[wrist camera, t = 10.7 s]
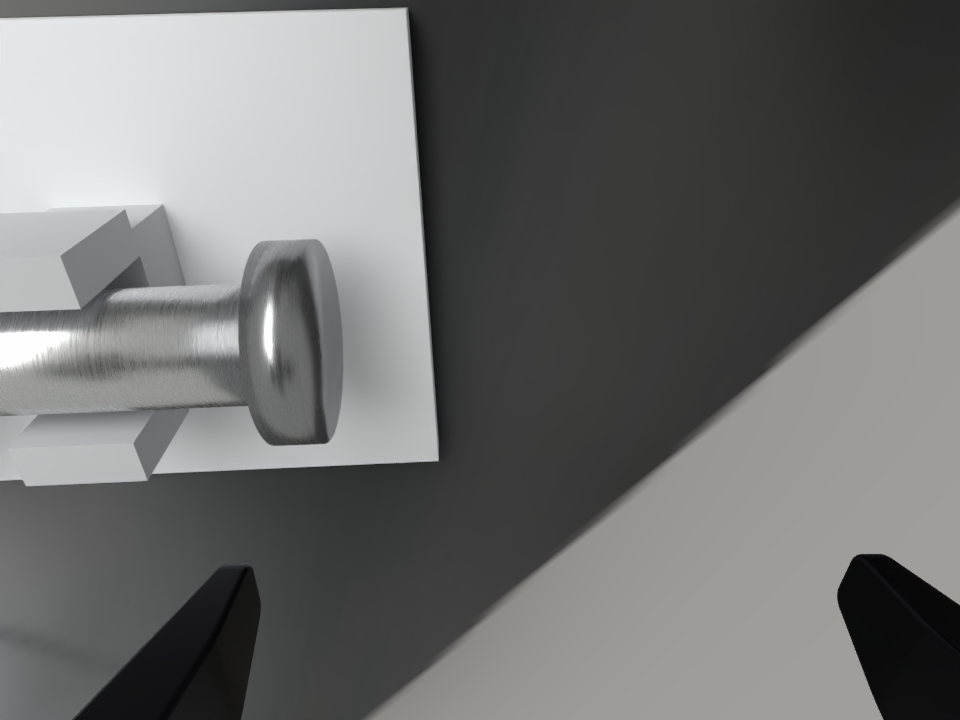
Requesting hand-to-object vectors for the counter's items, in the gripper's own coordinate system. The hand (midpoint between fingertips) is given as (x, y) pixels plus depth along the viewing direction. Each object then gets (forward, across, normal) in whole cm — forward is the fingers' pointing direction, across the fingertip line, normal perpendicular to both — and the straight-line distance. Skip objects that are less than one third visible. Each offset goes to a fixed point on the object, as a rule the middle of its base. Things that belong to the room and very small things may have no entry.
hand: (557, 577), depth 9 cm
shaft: (+10, +13, +1) cm, 17 cm away
